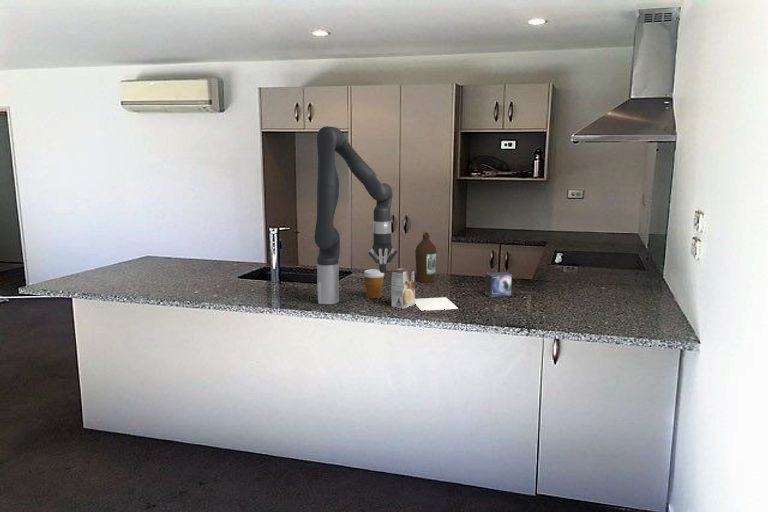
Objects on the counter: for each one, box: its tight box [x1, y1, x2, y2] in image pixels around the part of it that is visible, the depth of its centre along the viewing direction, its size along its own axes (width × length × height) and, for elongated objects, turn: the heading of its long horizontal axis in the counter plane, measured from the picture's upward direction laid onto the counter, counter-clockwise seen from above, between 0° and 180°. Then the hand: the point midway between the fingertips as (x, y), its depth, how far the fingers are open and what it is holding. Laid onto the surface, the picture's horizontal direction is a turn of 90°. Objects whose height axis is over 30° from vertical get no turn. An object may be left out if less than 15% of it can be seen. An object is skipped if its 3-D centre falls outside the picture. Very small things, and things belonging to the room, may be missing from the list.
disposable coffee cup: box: [363, 268, 385, 299], centre depth 263 cm, size 10×10×12 cm
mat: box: [415, 296, 459, 311], centre depth 252 cm, size 16×18×1 cm
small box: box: [484, 271, 513, 299], centre depth 265 cm, size 11×6×10 cm, turn 105°
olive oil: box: [414, 231, 437, 284], centre depth 294 cm, size 11×11×25 cm
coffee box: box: [390, 266, 416, 310], centre depth 248 cm, size 9×6×16 cm
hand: (382, 272), depth 245 cm, fingers closed
